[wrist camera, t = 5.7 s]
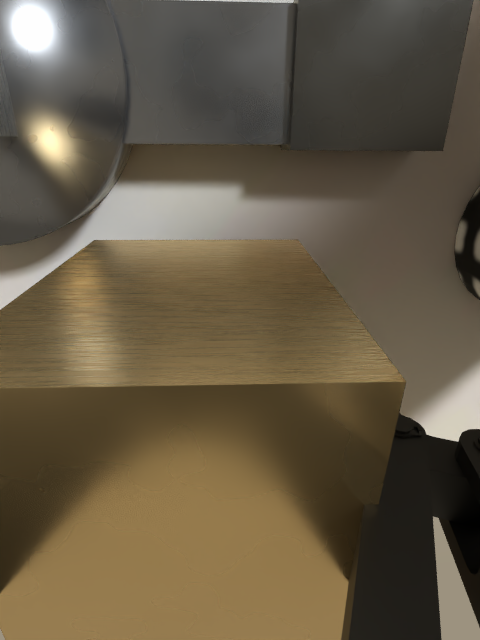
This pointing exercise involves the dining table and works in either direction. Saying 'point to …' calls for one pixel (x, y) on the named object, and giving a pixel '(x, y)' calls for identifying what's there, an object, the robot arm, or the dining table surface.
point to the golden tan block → (186, 444)
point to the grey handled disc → (208, 87)
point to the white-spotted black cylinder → (469, 246)
